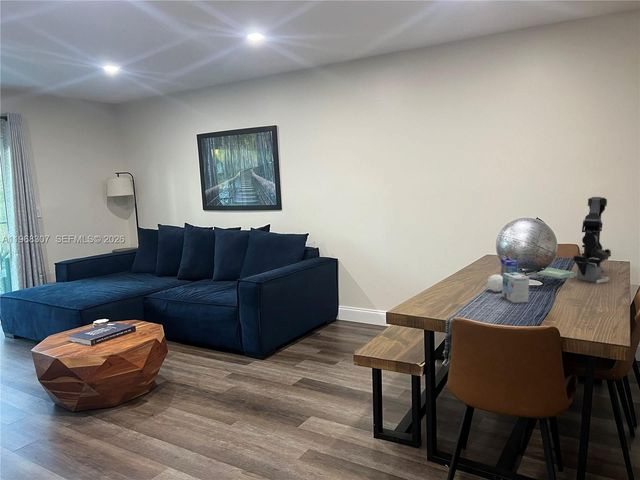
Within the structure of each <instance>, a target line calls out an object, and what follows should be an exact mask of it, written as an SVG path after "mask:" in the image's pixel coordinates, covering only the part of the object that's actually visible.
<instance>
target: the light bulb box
mask: <svg viewBox="0 0 640 480" xmlns="http://www.w3.org/2000/svg"><path fill="white" fill-rule="evenodd" d="M529 286H530V277H529V276H528V275H527V276H526V275H524V274H521V273H520V272H518V273H517V272H514V273H503V286H502V291H501V297H503V298H504V299H506V300H508V301H510V302H511V303H514V304H515V303H516V304H517V303H518V304H520V303H528V302H529V291H530V290H529V289H530V287H529Z"/></svg>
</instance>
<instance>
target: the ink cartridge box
mask: <svg viewBox="0 0 640 480" xmlns="http://www.w3.org/2000/svg"><path fill="white" fill-rule="evenodd" d="M509 258H510V257H509V256H508V255H507V254H505V257H501V258H500V276H502V277H503V273H514V272H517V273H519V272H518V271H519V270H518V261H517V260H516V259H514V258H512V259H509ZM513 259H514V260H513Z"/></svg>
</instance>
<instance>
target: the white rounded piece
mask: <svg viewBox="0 0 640 480" xmlns="http://www.w3.org/2000/svg"><path fill="white" fill-rule="evenodd" d="M502 286H503V277H502V276H501V274H493V275H491V276H489V278H488V279H487V287H488V289H489V290H490V291H492V292H494V293H500V292H502Z"/></svg>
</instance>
